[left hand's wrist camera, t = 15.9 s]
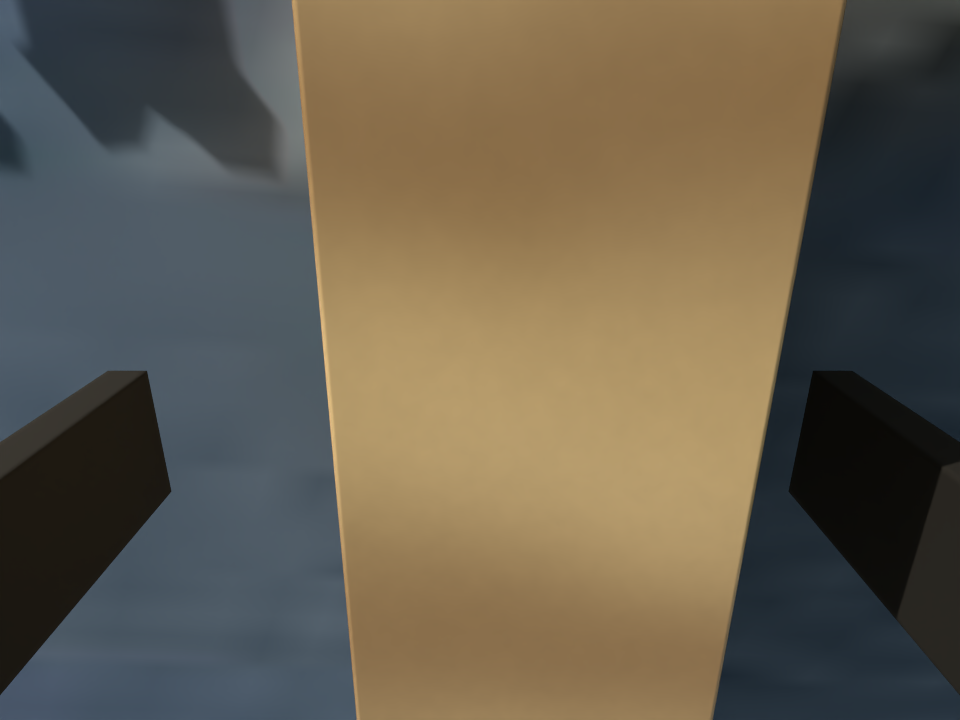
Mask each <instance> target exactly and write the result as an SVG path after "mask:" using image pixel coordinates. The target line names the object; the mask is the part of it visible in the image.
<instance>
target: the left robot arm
mask: <svg viewBox="0 0 960 720" xmlns="http://www.w3.org/2000/svg"><path fill="white" fill-rule="evenodd" d="M170 492H171V487H170V482H169V477H168V473H167V468H166V463H165V458H164V453H163V448H162V443H161V438H160V433H159V428H158V423H157V418H156V413H155V408H154V403H153V399H152V394H151V389H150V384H149V379H148V374H147V371H107V372H106V373H104V374H103V375H101V376H100V377H98V378H97V379H95V380H94V381H92V382H91V383H89V384H87V385H86V386H84V387H83V388H81V389H80V390H78V391H77V392H75V393H74V394H72V395H71V396H69V397H68V398H66V399H65V400H63V401H62V402H60V403H59V404H57V405H56V406H54V407H53V408H51V409H50V410H48V411H47V412H45V413H44V414H42V415H41V416H39V417H38V418H36V419H35V420H33V421H32V422H30V423H29V424H27V425H26V426H24V427H23V428H21V429H20V430H18V431H17V432H15V433H14V434H12V435H11V436H9V437H8V438H6V439H5V440H3V441H2V442H0V695H1V693H2V692H3V691H4V690H5V689H6V687H7V686H8V685H9V684H10V683H11V682H12V680H13V679H14V678H15V677H16V676H17V674H18V673H19V672H20V671H21V670H22V668H23V667H24V666H25V665H26V664H27V663H28V661H29V660H30V659H31V658H32V657H33V655H34V654H35V653H36V652H37V651H38V649H39V648H40V647H41V646H42V645H43V643H44V642H45V641H46V640H47V639H48V638H49V636H50V635H51V634H52V633H53V632H54V630H55V629H56V628H57V627H58V626H59V624H60V623H61V622H62V621H63V620H64V619H65V617H66V616H67V615H68V614H69V613H70V611H71V610H72V609H73V608H74V607H75V605H76V604H77V603H78V602H79V601H80V599H81V598H82V597H83V596H84V595H85V594H86V592H87V591H88V590H89V589H90V588H91V586H92V585H93V584H94V583H95V582H96V580H97V579H98V578H99V577H100V576H101V574H102V573H103V572H104V571H105V570H106V569H107V567H108V566H109V565H110V564H111V563H112V561H113V560H114V559H115V558H116V557H117V555H118V554H119V553H120V552H121V551H122V550H123V548H124V547H125V546H126V545H127V544H128V542H129V541H130V540H131V539H132V538H133V536H134V535H135V534H136V533H137V532H138V530H139V529H140V528H141V527H142V526H143V525H144V523H145V522H146V521H147V520H148V519H149V517H150V516H151V515H152V514H153V513H154V511H155V510H156V509H157V508H158V507H159V506H160V504H161V503H162V502H163V501H164V500H165V498H166V497H167V496H168V495H169V494H170ZM789 492H790V494H791V495H792V496H793V497H794V498H795V500H796V501H797V502H798V503H799V504H800V506H801V507H802V508H803V509H804V510H805V511H806V513H807V514H808V515H809V516H810V517H811V519H812V520H813V521H814V522H815V523H816V525H817V526H818V527H819V528H820V529H821V530H822V532H823V533H824V534H825V535H826V536H827V538H828V539H829V540H830V541H831V542H832V544H833V545H834V546H835V547H836V548H837V550H838V551H839V552H840V553H841V554H842V555H843V557H844V558H845V559H846V560H847V561H848V563H849V564H850V565H851V566H852V567H853V569H854V570H855V571H856V572H857V573H858V574H859V576H860V577H861V578H862V579H863V580H864V582H865V583H866V584H867V585H868V586H869V588H870V589H871V590H872V591H873V592H874V594H875V595H876V596H877V597H878V598H879V599H880V601H881V602H882V603H883V604H884V605H885V607H886V608H887V609H888V610H889V611H890V613H891V614H892V615H893V616H894V617H895V619H896V620H897V621H898V622H899V623H900V624H901V626H902V627H903V628H904V629H905V630H906V632H907V633H908V634H909V635H910V636H911V638H912V639H913V640H914V641H915V642H916V643H917V645H918V646H919V647H920V648H921V649H922V651H923V652H924V653H925V654H926V655H927V657H928V658H929V659H930V660H931V661H932V663H933V664H934V665H935V666H936V667H937V668H938V670H939V671H940V672H941V673H942V674H943V676H944V677H945V678H946V679H947V680H948V682H949V683H950V684H951V685H952V686H953V687H954V689H955V690H956V691H957V692H958V693H959V695H960V442H958V441H957V440H955V439H954V438H952V437H951V436H949V435H948V434H946V433H945V432H943V431H942V430H940V429H939V428H937V427H936V426H934V425H933V424H931V423H930V422H928V421H927V420H925V419H924V418H922V417H921V416H919V415H918V414H916V413H915V412H913V411H912V410H910V409H909V408H907V407H906V406H904V405H903V404H901V403H900V402H898V401H897V400H895V399H894V398H892V397H891V396H889V395H888V394H886V393H885V392H883V391H882V390H880V389H879V388H877V387H876V386H874V385H873V384H871V383H869V382H868V381H866V380H865V379H863V378H862V377H860V376H859V375H857V374H856V373H854V372H853V371H813V374H812V379H811V384H810V389H809V394H808V399H807V403H806V408H805V413H804V418H803V423H802V428H801V433H800V438H799V443H798V448H797V453H796V458H795V463H794V468H793V473H792V477H791V482H790V487H789Z"/></svg>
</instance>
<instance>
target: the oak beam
mask: <svg viewBox="0 0 960 720" xmlns="http://www.w3.org/2000/svg"><path fill="white" fill-rule="evenodd" d="M846 2H847V0H292V8H293V19H294V30H295V41H296V52H297V63H298V74H299V85H300V96H301V107H302V118H303V129H304V140H305V152H306V163H307V174H308V185H309V196H310V207H311V218H312V229H313V240H314V251H315V262H316V273H317V284H318V295H319V306H320V317H321V328H322V339H323V350H324V362H325V373H326V384H327V395H328V406H329V417H330V428H331V439H332V450H333V461H334V472H335V483H336V494H337V505H338V516H339V527H340V538H341V549H342V561H343V572H344V583H345V594H346V605H347V616H348V627H349V638H350V649H351V660H352V671H353V682H354V693H355V704H356V715H357V720H713V715H714V709H715V704H716V698H717V693H718V688H719V682H720V677H721V672H722V666H723V661H724V656H725V650H726V645H727V640H728V634H729V629H730V623H731V618H732V613H733V607H734V602H735V597H736V591H737V586H738V581H739V575H740V570H741V565H742V559H743V554H744V548H745V543H746V538H747V532H748V527H749V522H750V516H751V511H752V506H753V500H754V495H755V490H756V484H757V479H758V473H759V468H760V463H761V457H762V452H763V447H764V441H765V436H766V431H767V425H768V420H769V415H770V409H771V404H772V398H773V393H774V388H775V382H776V377H777V372H778V366H779V361H780V356H781V350H782V345H783V340H784V334H785V329H786V323H787V318H788V313H789V307H790V302H791V297H792V291H793V286H794V281H795V275H796V270H797V265H798V259H799V254H800V248H801V243H802V238H803V232H804V227H805V222H806V216H807V211H808V206H809V200H810V195H811V190H812V184H813V179H814V173H815V168H816V163H817V157H818V152H819V147H820V141H821V136H822V131H823V125H824V120H825V115H826V109H827V104H828V98H829V93H830V88H831V82H832V77H833V72H834V66H835V61H836V56H837V50H838V45H839V40H840V34H841V29H842V23H843V18H844V13H845V7H846Z"/></svg>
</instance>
